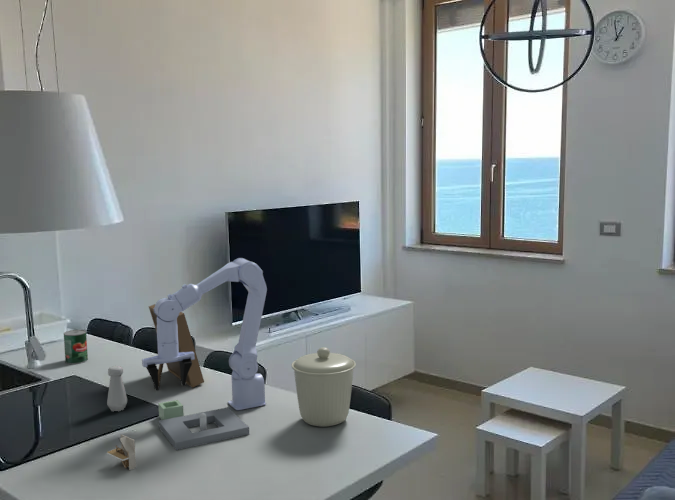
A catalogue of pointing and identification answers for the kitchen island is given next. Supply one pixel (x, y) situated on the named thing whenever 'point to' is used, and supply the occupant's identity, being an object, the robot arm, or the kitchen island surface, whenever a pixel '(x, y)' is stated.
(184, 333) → the photo frame
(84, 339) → the canned tomato
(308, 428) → the kitchen island surface
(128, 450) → the architectural model
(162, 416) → the hollow block
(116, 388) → the salt shaker
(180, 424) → the slotted base plate
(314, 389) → the canister
